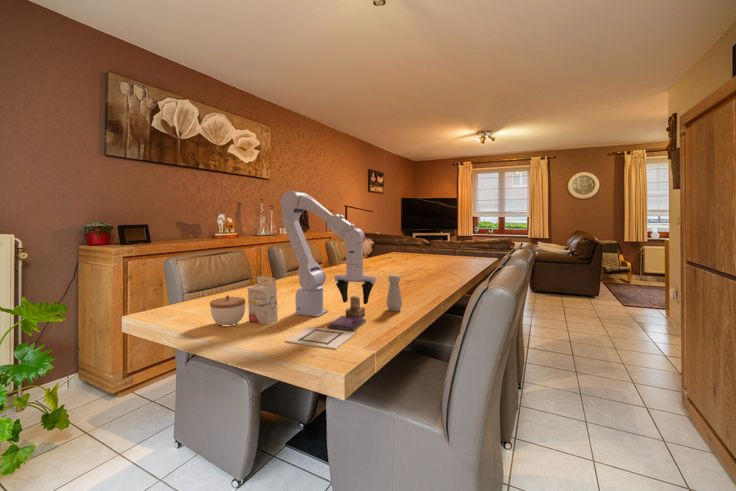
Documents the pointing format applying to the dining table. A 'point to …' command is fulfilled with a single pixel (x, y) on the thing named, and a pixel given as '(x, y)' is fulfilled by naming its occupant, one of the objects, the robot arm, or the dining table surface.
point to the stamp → (355, 308)
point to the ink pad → (346, 323)
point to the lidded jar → (228, 310)
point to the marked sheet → (321, 337)
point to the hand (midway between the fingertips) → (355, 302)
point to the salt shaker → (394, 294)
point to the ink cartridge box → (263, 301)
